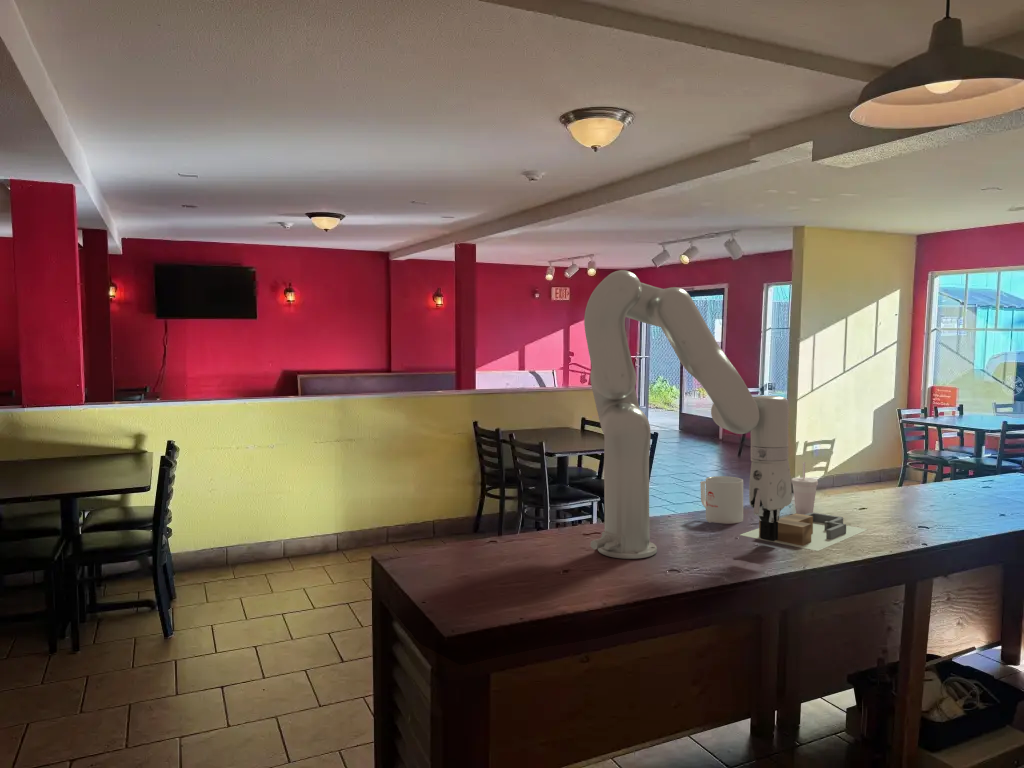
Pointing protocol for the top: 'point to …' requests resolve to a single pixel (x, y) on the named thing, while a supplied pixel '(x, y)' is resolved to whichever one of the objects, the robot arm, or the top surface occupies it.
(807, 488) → the smoothie
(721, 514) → the mug
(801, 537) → the t block
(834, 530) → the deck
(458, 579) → the top surface
